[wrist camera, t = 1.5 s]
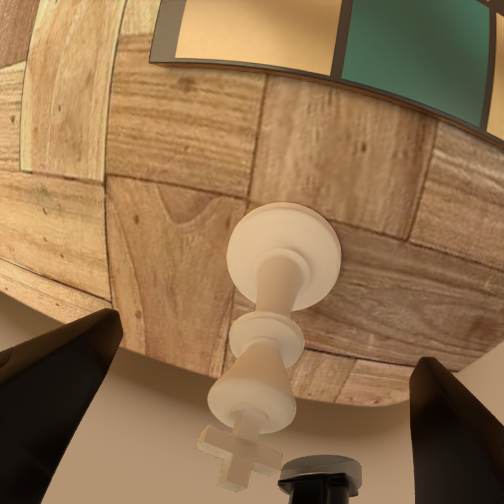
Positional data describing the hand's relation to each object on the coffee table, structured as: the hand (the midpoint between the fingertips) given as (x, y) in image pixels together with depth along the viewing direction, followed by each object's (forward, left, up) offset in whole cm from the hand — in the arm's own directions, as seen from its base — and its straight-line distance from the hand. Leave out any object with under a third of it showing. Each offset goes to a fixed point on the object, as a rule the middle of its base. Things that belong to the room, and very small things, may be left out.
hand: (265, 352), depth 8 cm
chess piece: (0, 0, -6) cm, 6 cm away
